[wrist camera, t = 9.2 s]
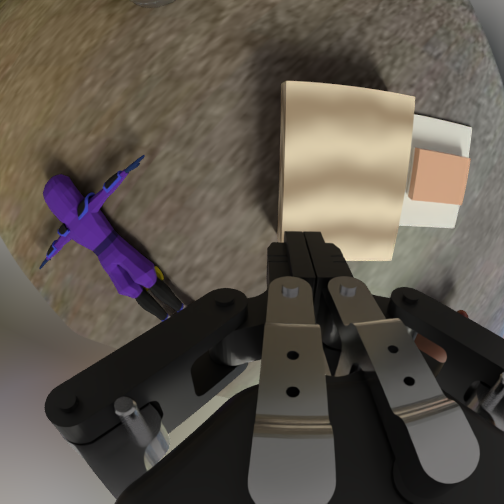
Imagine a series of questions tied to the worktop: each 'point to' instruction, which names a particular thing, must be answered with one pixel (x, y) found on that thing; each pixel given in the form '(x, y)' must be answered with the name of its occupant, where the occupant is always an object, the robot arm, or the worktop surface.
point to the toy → (106, 241)
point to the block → (344, 165)
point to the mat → (444, 140)
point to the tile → (438, 176)
